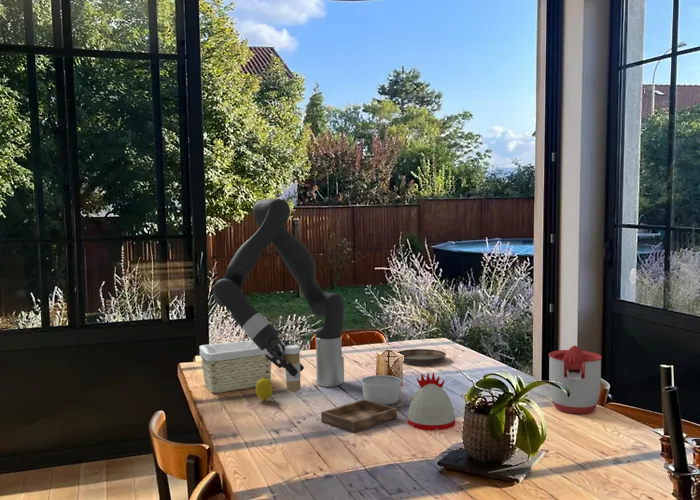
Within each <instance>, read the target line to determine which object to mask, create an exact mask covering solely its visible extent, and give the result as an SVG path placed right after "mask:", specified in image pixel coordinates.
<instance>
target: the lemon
mask: <svg viewBox="0 0 700 500" xmlns="http://www.w3.org/2000/svg"><path fill="white" fill-rule="evenodd" d="M255 394H256V396H257V398H259V399H260V400H262V401H263V402H266V401H267V400H268V399H270V397H271V396H272V395H273V383H272V381H271V382H270V380H268V379H267V378H265V377H263V378H262V379H260V380H259V381H258V382H257V384H256V387H255Z"/></svg>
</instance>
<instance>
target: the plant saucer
mask: <svg viewBox="0 0 700 500" xmlns="http://www.w3.org/2000/svg"><path fill="white" fill-rule="evenodd" d="M396 353H400V354H402V355H404V362H403V363H404V364H407V365H412V366H431V365H436V364H439V363H442V362H443V360H444V359H445V357H446V356H447V353H446V351H442V350H437V349H430V348H413V349H412V348H411V349H403V350H399V351H397V352H396Z"/></svg>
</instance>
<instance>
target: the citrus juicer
mask: <svg viewBox="0 0 700 500" xmlns="http://www.w3.org/2000/svg"><path fill="white" fill-rule="evenodd" d="M548 356H549V358H548V359H549V361H548V363H549V369H548V371H549V374H548V375H549V377H548V381H555V382H560V383H562V384H564V385H565V386H567V387H568V389H569V390H570V392H571V394H570V396H569V397H568V396H567V394H566V393H565V392H564V391H562V390H561V389H559V388H557V387H555V386H552V385H550V384H549V389H550V395H551V398H552V402H553V405H554V407H555V409H557V410H558V411H560V412H563V413H568V414H570V413H571V414H584V415H588V414H589V413H592V412H594V411H595V409H596V408H597V404H598V401H599V398H600V394H601V387H602V386H601V384H602V382H601V381H602V380H601V379H602V371H601V370H602V369H601V368H602V358H603V357H602V355H601V354H599V353H596V352H594V351H593V352H592V351H587V350H581V349H580V348H579V347H578V346H577V345H575V344H574V345H572V346H571V347H569V349H560V350H558V349H557V350H553V351H550V352H549V353H548Z"/></svg>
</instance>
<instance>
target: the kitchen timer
mask: <svg viewBox="0 0 700 500" xmlns="http://www.w3.org/2000/svg"><path fill="white" fill-rule="evenodd" d="M420 378H421V380H420V379H419V378H418V377H416V381H417V383H418V385H419V386H420V388H418V389H417V390H416V391H415V394H414V395H413V396H412V397H411V398H410V400H411V401H410V405H409V407H408V412H407V424H408V426H410V427H411V426H412V428H413V427H414V428H413V429H416V428H417V430H419V431H436V432H437V431H438V432H439V431H445V430H449V429H452V428H453V427H455V425H456V413H455V410H454V406H453V404H452V401H451V398H450V397H449V395H448V393H447V392H446V390H444V389H443V386H444V384H445V379H443V380H442V382H441V383H439V382H440V379H441V378H440V375H438V376H437V378H436V377H435V373H434V372H432V374H431V379H430V373H429V372H427V375H426V379H425V378H424V374H423V373H421V374H420Z"/></svg>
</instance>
